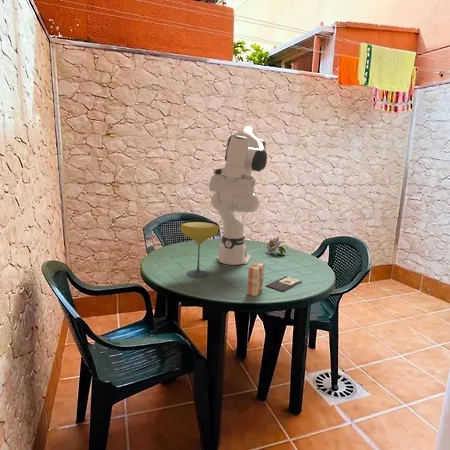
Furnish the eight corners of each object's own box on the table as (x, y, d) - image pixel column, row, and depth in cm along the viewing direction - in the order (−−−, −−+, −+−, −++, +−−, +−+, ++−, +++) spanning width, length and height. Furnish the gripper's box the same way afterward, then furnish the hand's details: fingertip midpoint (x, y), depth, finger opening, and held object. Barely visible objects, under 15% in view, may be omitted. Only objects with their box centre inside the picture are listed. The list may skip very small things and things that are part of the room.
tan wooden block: (254, 287, 154) (255, 262, 152) (262, 289, 153) (264, 263, 150) (247, 294, 146) (248, 267, 144) (256, 296, 144) (257, 269, 142)
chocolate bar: (265, 285, 156) (285, 276, 170) (265, 287, 156) (285, 277, 170) (283, 290, 150) (302, 281, 164) (282, 293, 151) (302, 282, 164)
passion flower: (269, 262, 210) (260, 245, 212) (281, 256, 217) (272, 239, 219) (281, 256, 202) (271, 238, 204) (292, 250, 208) (283, 233, 210)
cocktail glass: (200, 283, 156) (202, 229, 151) (171, 274, 166) (172, 223, 161) (223, 273, 170) (226, 224, 165) (195, 265, 180) (197, 218, 175)
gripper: (258, 177, 145) (252, 209, 147) (217, 171, 154) (211, 201, 156) (253, 176, 140) (247, 209, 141) (210, 169, 149) (205, 200, 150)
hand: (228, 205), depth 149 cm, fingers open, 8 cm apart
